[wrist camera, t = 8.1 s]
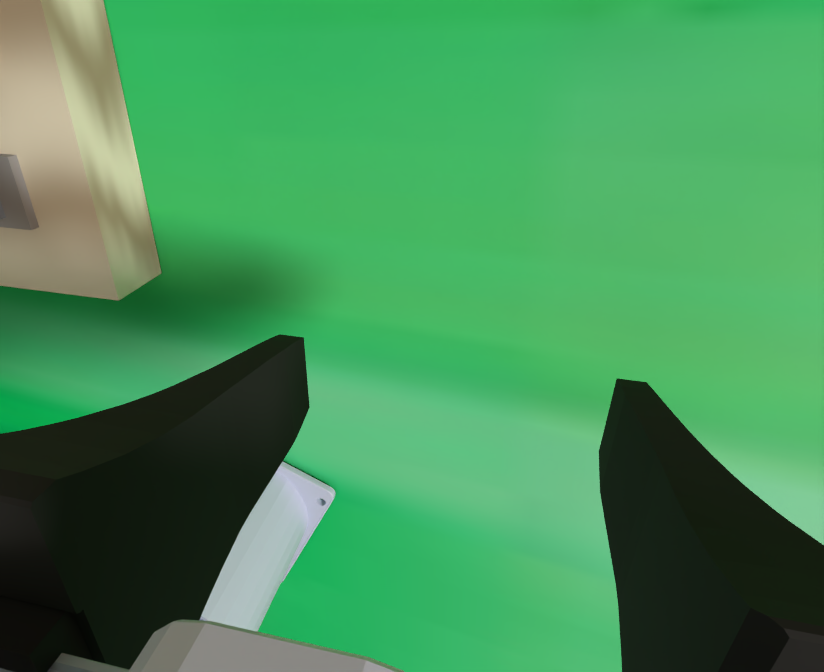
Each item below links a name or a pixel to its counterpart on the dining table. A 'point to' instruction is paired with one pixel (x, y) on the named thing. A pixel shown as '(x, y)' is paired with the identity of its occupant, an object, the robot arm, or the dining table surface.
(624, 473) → the robot arm
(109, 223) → the display stand
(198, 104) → the dining table surface
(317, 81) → the dining table surface
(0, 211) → the grey long bar
